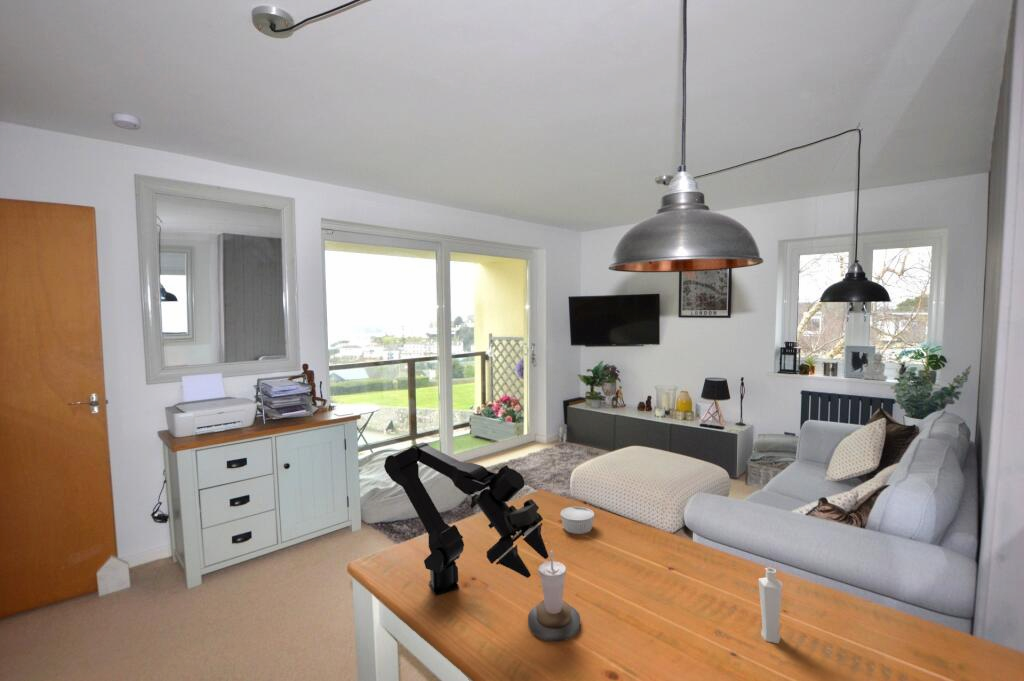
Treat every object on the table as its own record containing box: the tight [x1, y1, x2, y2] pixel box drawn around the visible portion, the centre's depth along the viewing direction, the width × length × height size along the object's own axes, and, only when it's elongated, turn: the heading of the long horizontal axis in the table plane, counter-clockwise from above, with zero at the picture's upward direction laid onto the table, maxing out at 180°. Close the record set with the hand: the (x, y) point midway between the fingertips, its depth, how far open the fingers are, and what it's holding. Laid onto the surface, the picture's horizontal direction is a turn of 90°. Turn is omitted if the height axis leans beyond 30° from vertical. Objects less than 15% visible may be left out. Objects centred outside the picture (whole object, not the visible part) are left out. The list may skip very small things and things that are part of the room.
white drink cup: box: [538, 550, 567, 614], centre depth 108 cm, size 6×6×14 cm
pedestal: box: [527, 599, 581, 643], centre depth 108 cm, size 12×12×4 cm
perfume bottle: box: [758, 567, 783, 644], centre depth 101 cm, size 5×4×15 cm
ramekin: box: [560, 506, 595, 535], centre depth 156 cm, size 11×11×5 cm
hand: (538, 567), depth 109 cm, fingers open, 9 cm apart
